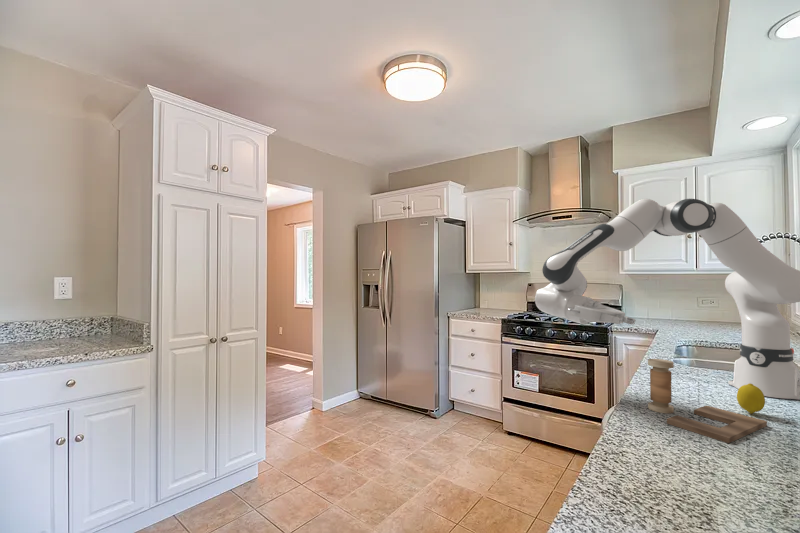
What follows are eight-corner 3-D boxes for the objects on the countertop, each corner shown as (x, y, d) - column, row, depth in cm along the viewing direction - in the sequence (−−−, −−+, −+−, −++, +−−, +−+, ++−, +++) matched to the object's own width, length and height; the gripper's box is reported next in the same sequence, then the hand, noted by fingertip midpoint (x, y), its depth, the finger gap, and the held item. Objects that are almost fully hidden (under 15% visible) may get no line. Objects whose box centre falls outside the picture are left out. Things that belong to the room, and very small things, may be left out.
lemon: (759, 419, 99) (759, 387, 99) (732, 412, 103) (732, 382, 104) (769, 415, 101) (768, 384, 101) (742, 408, 106) (742, 379, 106)
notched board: (706, 409, 105) (706, 405, 105) (766, 426, 94) (766, 421, 94) (666, 423, 95) (666, 418, 95) (728, 443, 85) (728, 437, 85)
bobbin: (655, 404, 109) (655, 357, 109) (678, 411, 104) (678, 362, 104) (643, 408, 106) (643, 360, 106) (666, 415, 101) (666, 364, 101)
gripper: (566, 298, 117) (613, 309, 106) (599, 301, 129) (643, 312, 118) (562, 318, 118) (608, 331, 107) (594, 320, 130) (639, 332, 119)
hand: (627, 321), depth 113 cm, fingers open, 8 cm apart
